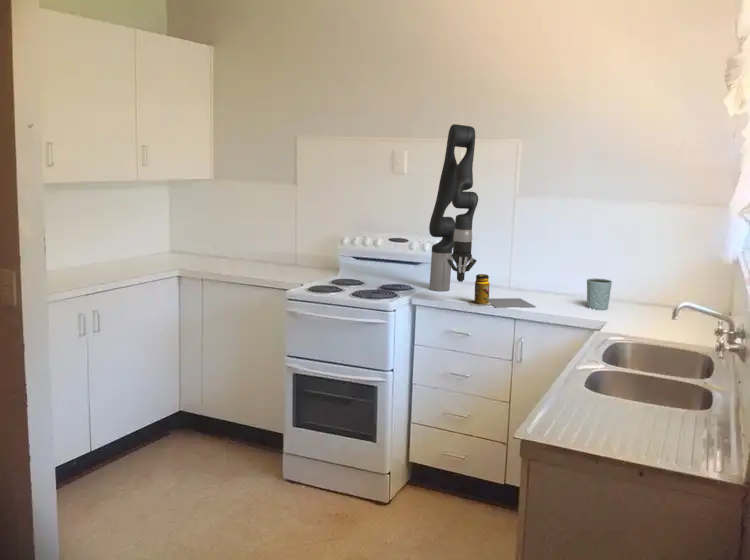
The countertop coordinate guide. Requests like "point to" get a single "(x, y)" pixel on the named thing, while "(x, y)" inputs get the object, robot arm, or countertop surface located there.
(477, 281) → the condiment
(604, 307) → the green embossed plant pot
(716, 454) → the countertop surface
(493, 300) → the mat
